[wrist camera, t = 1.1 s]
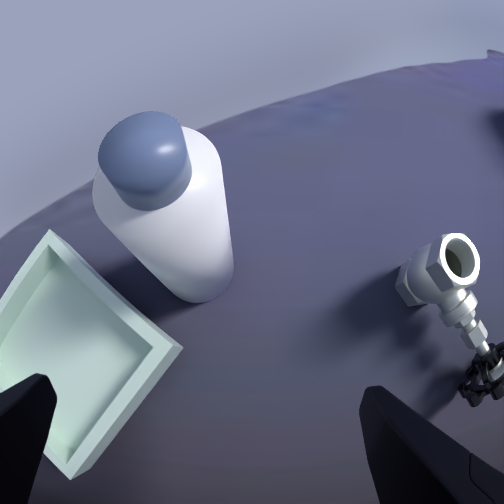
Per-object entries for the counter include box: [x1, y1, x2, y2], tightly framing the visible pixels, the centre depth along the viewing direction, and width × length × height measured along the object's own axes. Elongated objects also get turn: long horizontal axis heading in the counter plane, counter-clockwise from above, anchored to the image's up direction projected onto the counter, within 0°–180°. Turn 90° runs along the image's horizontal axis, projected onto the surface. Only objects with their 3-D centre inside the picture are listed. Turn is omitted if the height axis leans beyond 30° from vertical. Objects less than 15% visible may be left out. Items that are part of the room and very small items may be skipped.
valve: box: [395, 233, 504, 407], centre depth 18 cm, size 7×7×12 cm
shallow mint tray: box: [0, 229, 183, 480], centre depth 18 cm, size 12×12×4 cm
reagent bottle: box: [92, 111, 234, 303], centre depth 16 cm, size 5×5×14 cm
